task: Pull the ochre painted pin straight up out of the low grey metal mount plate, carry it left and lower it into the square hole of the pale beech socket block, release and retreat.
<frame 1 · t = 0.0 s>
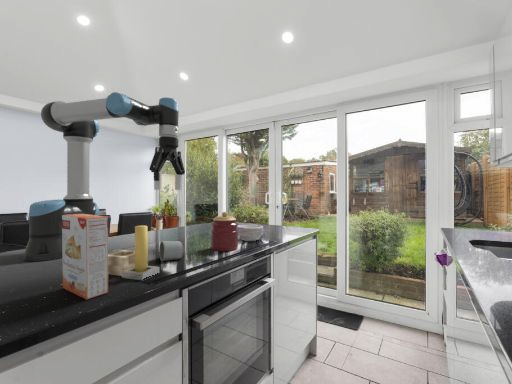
hand: (168, 189, 109), 28 cm above the counter, tool pointing down, fingers open, 13 cm apart
beech socket block: (123, 270, 92), on the counter
cracker box: (84, 292, 73), on the counter
canister: (224, 249, 129), on the counter
paper bowls: (249, 240, 152), on the counter
ochre pin: (141, 250, 88), in the grey mount plate
grey mount plate: (141, 275, 88), on the counter
ceramic mug: (169, 259, 109), on the counter
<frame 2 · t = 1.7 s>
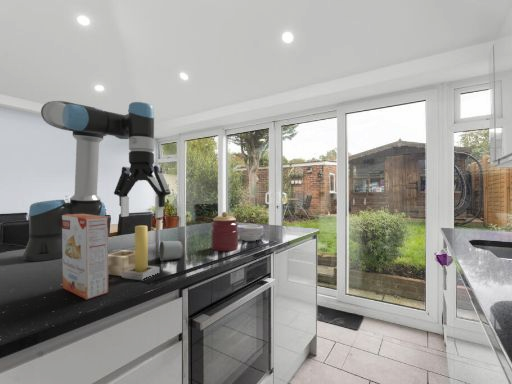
hand: (141, 217, 87), 19 cm above the counter, tool pointing down, fingers open, 13 cm apart
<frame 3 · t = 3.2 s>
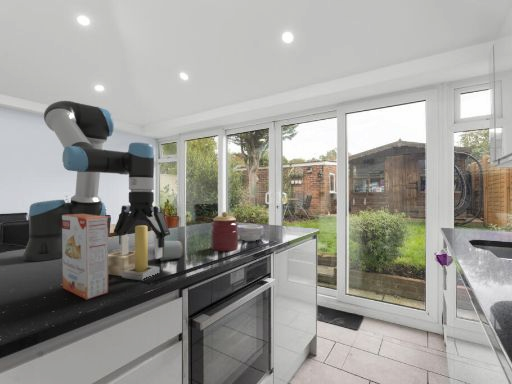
hand: (141, 256, 88), 6 cm above the counter, tool pointing down, fingers open, 13 cm apart
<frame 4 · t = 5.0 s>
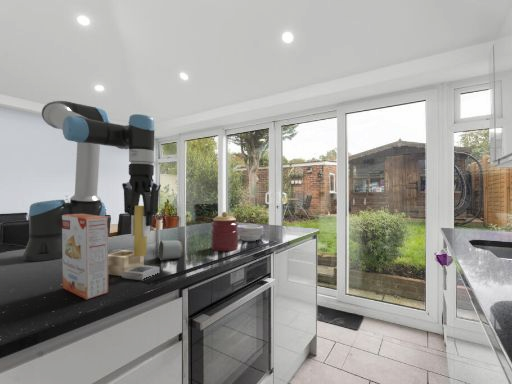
hand: (140, 235, 88), 13 cm above the counter, tool pointing down, fingers closed on ochre pin, 4 cm apart
ochre pin: (140, 230, 88), point 15 cm above the counter, touching gripper
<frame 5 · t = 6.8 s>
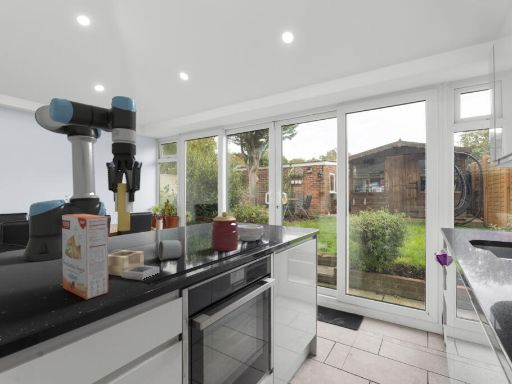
hand: (124, 211, 92), 20 cm above the counter, tool pointing down, fingers closed on ochre pin, 4 cm apart
ochre pin: (123, 206, 92), point 22 cm above the counter, touching gripper
when the fingers open (7 cm above the counter, at t = 9.0 s): ochre pin stays where it is, resting in beech socket block.
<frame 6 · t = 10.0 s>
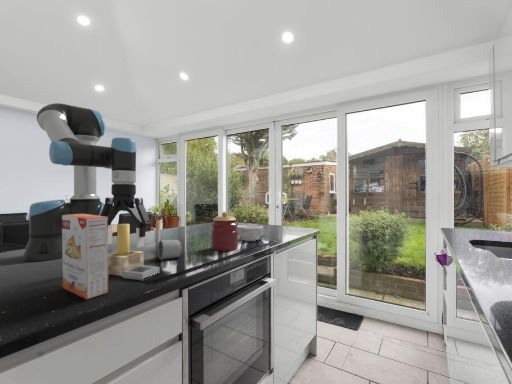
hand: (123, 245, 92), 9 cm above the counter, tool pointing down, fingers open, 13 cm apart
ochre pin: (123, 247, 92), in the beech socket block
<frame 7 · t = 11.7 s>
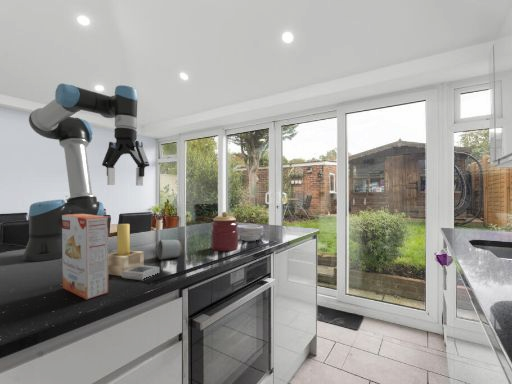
hand: (124, 185, 102), 30 cm above the counter, tool pointing down, fingers open, 13 cm apart
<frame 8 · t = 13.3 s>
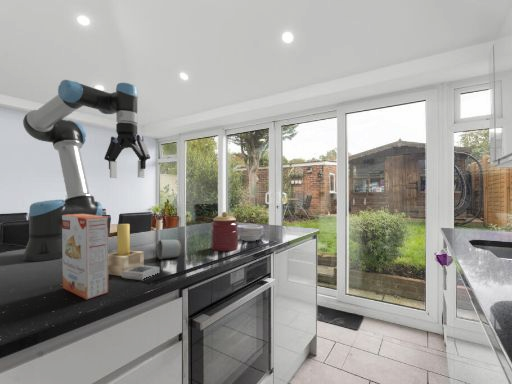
hand: (126, 177, 107), 33 cm above the counter, tool pointing down, fingers open, 13 cm apart
at the end: ochre pin 0.1 cm off-centre on the beech socket block, point 8.0 cm above the beech socket block's base; ochre pin tilted 0°; the gripper is holding nothing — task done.
